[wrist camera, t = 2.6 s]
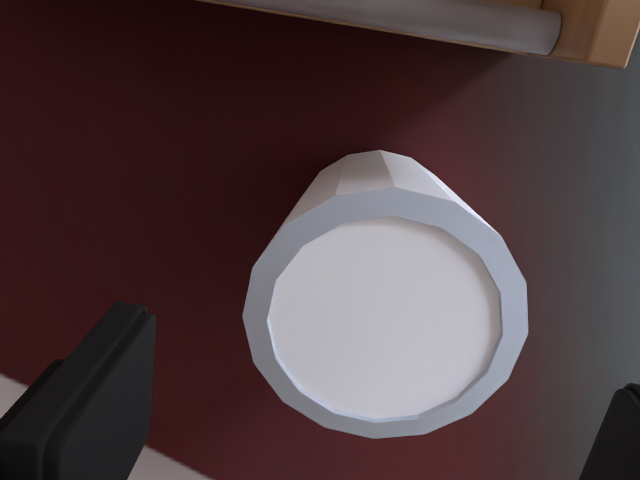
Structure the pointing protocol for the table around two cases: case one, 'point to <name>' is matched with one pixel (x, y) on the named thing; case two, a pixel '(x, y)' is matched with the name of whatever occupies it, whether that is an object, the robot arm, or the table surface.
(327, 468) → the table surface
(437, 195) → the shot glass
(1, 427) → the robot arm
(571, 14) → the spice rack
